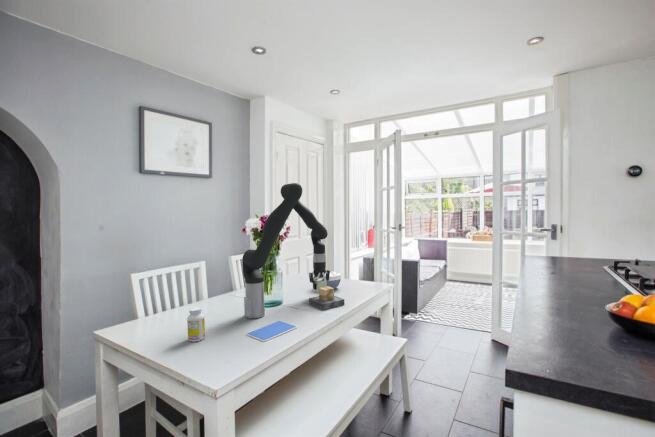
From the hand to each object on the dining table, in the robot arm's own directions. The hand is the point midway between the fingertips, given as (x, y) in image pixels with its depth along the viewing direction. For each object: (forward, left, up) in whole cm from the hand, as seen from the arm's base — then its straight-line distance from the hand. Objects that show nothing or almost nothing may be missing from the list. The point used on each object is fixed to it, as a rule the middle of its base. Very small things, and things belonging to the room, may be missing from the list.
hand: (319, 288), depth 193 cm
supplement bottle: (-75, -19, -5) cm, 77 cm away
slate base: (-5, -14, -5) cm, 16 cm away
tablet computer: (-46, -31, -6) cm, 56 cm away
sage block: (0, 0, -1) cm, 1 cm away
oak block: (-5, -14, -2) cm, 15 cm away
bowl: (+16, +13, -5) cm, 22 cm away
